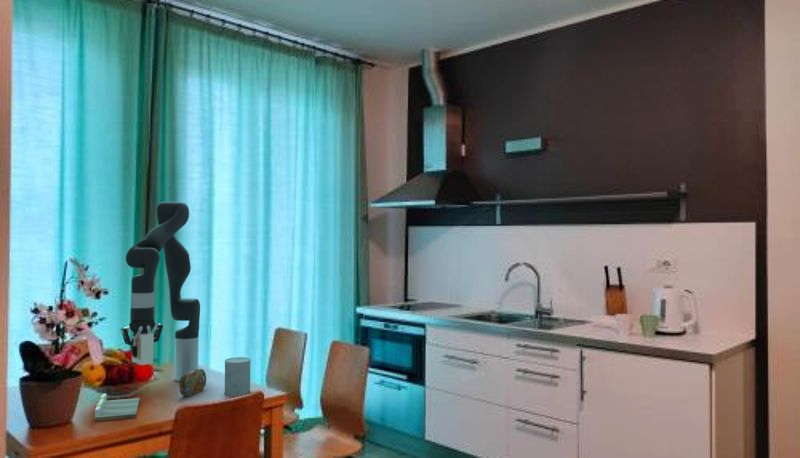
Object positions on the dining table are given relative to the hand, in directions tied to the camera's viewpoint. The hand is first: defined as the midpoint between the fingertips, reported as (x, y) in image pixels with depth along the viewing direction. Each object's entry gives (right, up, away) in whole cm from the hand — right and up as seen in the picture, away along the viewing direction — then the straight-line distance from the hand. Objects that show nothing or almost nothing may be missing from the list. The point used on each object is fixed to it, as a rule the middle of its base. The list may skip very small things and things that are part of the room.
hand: (141, 355), depth 203 cm
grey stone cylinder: (+27, -19, +22) cm, 40 cm away
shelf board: (-7, -18, -2) cm, 20 cm away
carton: (0, -2, 0) cm, 2 cm away
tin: (+10, -19, +20) cm, 30 cm away
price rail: (-12, -17, -4) cm, 21 cm away
